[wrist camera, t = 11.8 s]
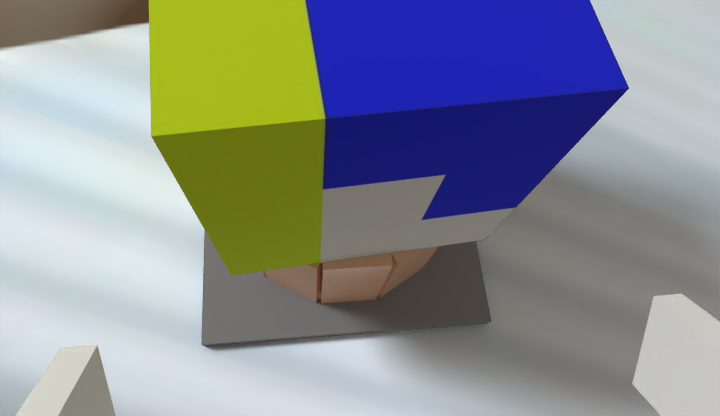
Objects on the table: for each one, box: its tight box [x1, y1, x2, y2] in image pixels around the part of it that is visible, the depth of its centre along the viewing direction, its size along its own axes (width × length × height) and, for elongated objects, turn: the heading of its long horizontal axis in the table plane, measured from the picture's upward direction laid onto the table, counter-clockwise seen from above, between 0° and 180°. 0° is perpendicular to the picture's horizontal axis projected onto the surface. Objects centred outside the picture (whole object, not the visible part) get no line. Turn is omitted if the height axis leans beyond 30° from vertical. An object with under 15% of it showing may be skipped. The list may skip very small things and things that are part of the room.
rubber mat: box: [202, 231, 491, 346], centre depth 27 cm, size 14×14×1 cm
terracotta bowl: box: [261, 246, 439, 304], centre depth 24 cm, size 11×11×6 cm
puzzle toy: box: [149, 0, 629, 276], centre depth 17 cm, size 10×10×10 cm
